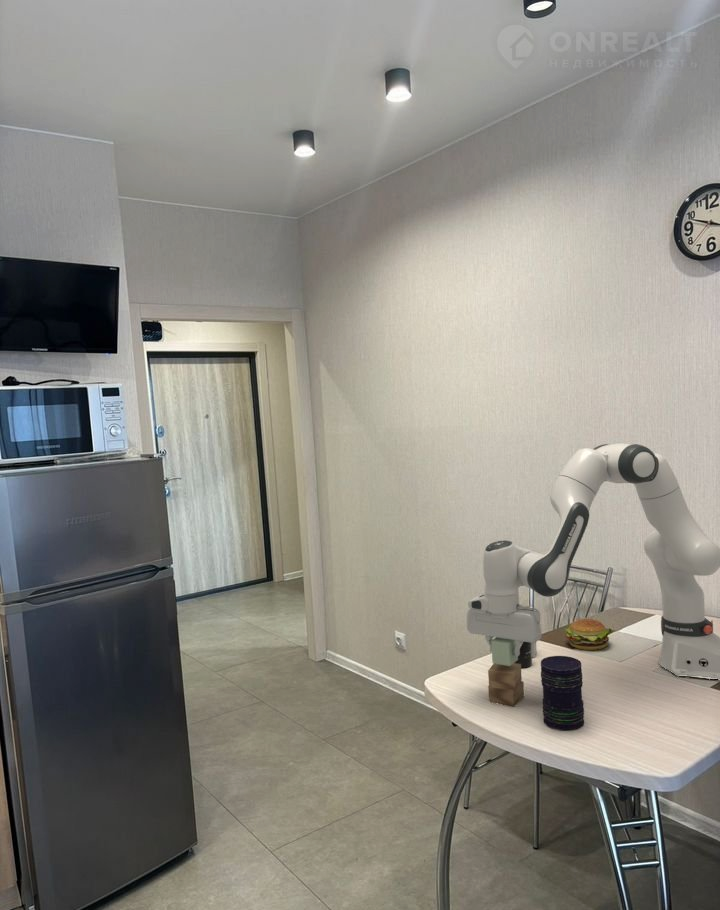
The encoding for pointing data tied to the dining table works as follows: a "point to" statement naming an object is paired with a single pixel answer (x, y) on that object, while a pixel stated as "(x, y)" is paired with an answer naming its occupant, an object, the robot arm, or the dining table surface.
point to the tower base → (507, 695)
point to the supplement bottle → (525, 655)
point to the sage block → (503, 651)
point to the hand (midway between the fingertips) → (504, 653)
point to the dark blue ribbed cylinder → (562, 693)
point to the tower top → (505, 676)
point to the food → (587, 634)
